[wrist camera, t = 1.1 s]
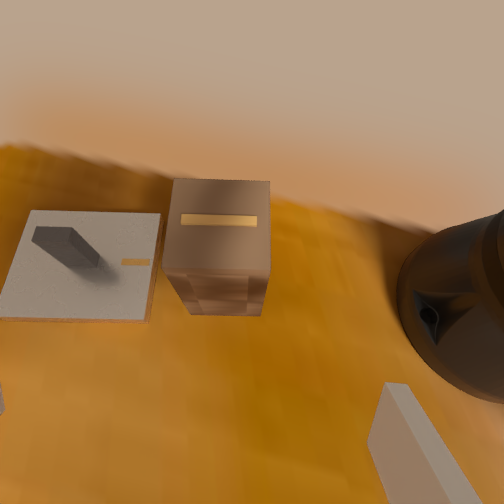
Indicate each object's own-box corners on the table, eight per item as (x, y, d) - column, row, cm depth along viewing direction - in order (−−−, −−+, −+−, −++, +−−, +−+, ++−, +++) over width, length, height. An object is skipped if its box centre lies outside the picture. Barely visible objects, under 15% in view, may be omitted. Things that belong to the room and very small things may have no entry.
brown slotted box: (260, 253, 30) (270, 179, 20) (260, 316, 27) (271, 268, 17) (196, 251, 30) (173, 176, 19) (190, 314, 27) (160, 265, 17)
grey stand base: (164, 221, 31) (145, 180, 25) (148, 323, 27) (122, 302, 21) (40, 218, 31) (-8, 175, 25) (5, 320, 26) (-63, 298, 21)
